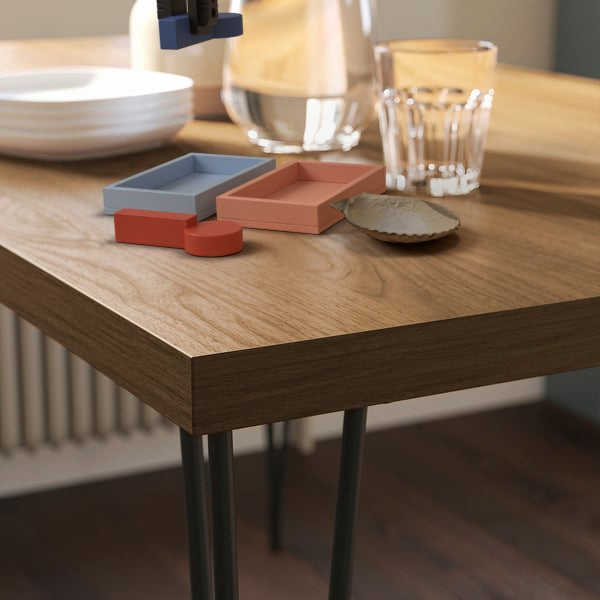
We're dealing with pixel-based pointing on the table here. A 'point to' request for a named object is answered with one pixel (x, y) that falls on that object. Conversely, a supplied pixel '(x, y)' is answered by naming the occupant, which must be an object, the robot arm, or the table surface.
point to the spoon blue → (179, 36)
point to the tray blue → (185, 184)
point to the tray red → (299, 195)
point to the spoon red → (178, 232)
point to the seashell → (397, 217)
